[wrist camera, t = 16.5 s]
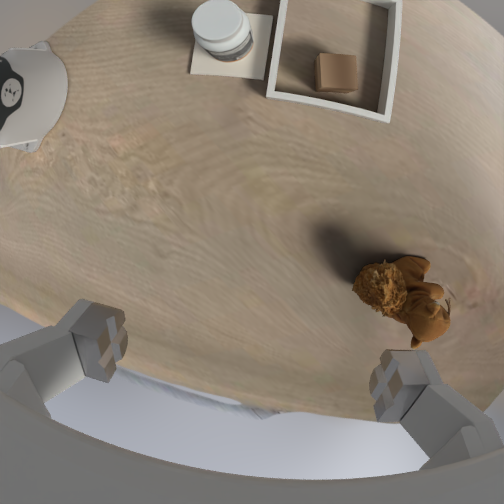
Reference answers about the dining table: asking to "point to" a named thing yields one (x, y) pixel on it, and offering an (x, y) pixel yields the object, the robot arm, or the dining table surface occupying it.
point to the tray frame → (383, 115)
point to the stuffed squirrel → (405, 296)
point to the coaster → (245, 67)
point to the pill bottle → (223, 30)
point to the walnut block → (335, 73)
